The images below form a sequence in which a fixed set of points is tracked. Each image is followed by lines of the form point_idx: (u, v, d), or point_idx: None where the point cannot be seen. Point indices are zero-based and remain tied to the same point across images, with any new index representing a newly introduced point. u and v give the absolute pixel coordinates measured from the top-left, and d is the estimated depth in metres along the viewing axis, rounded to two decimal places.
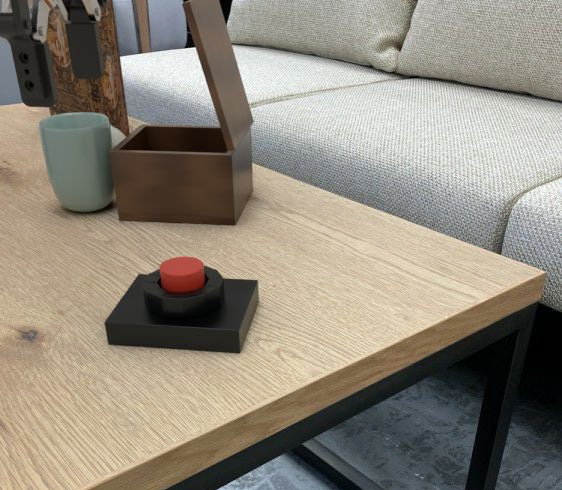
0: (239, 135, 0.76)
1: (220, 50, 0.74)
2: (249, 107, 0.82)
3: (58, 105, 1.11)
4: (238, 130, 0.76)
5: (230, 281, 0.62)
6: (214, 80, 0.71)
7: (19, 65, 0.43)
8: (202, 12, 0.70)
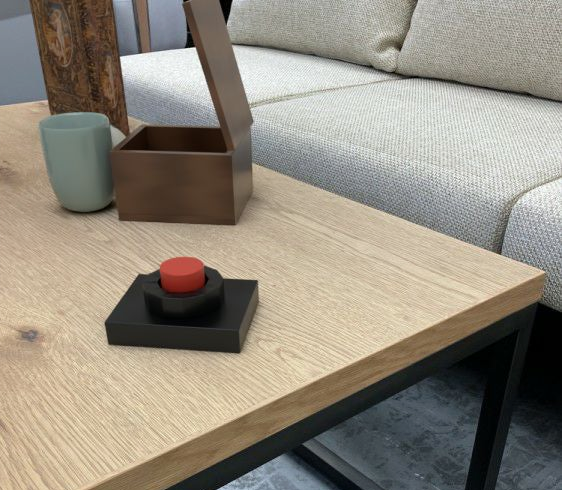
0: (239, 135, 0.76)
1: (220, 50, 0.74)
2: (249, 107, 0.82)
3: (58, 105, 1.11)
4: (238, 130, 0.76)
5: (230, 281, 0.62)
6: (214, 80, 0.71)
7: None
8: (202, 12, 0.70)
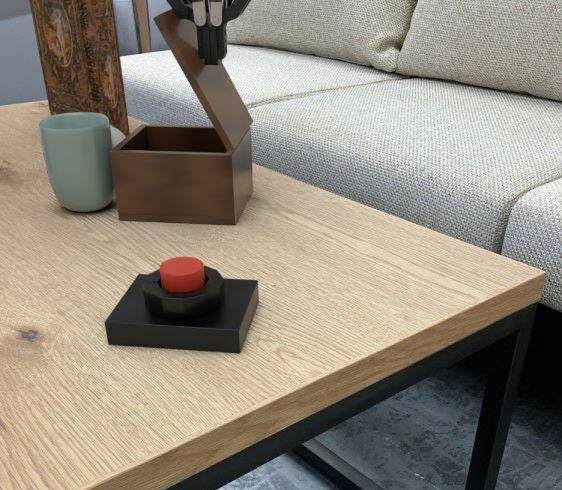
0: (237, 135, 0.76)
1: None
2: None
3: (58, 105, 1.11)
4: (236, 130, 0.76)
5: (230, 281, 0.62)
6: (200, 85, 0.71)
7: None
8: (176, 23, 0.71)
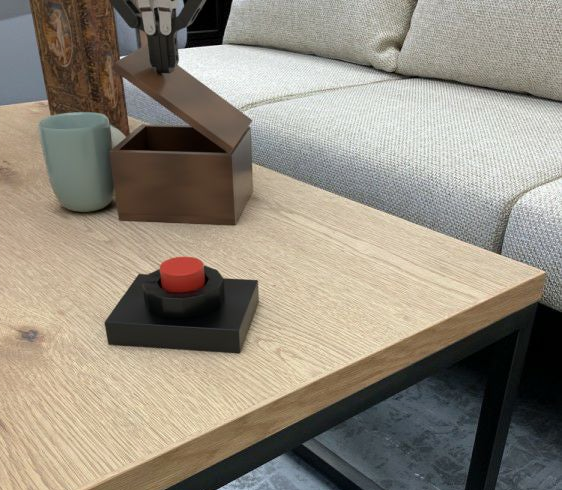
0: (234, 135, 0.76)
1: (175, 82, 0.77)
2: (240, 111, 0.83)
3: (58, 105, 1.11)
4: (231, 132, 0.76)
5: (230, 281, 0.62)
6: (177, 106, 0.72)
7: None
8: (136, 64, 0.74)
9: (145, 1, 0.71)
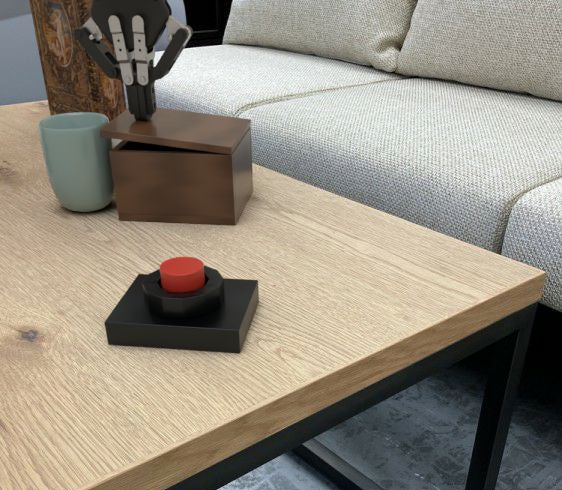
0: (232, 137, 0.76)
1: (164, 121, 0.79)
2: None
3: (58, 105, 1.11)
4: (228, 136, 0.77)
5: (230, 281, 0.62)
6: (167, 137, 0.74)
7: None
8: (122, 122, 0.77)
9: (123, 54, 0.74)
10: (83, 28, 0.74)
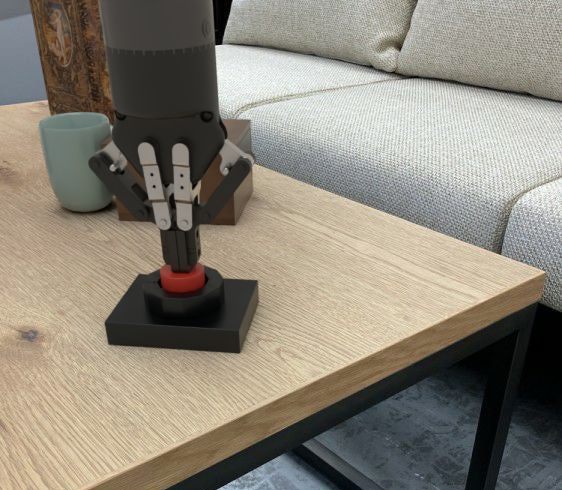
0: (232, 138, 0.77)
1: None
2: (235, 119, 0.83)
3: (58, 105, 1.11)
4: (227, 137, 0.77)
5: (230, 281, 0.62)
6: None
7: None
8: None
9: (157, 192, 0.52)
10: (101, 155, 0.52)
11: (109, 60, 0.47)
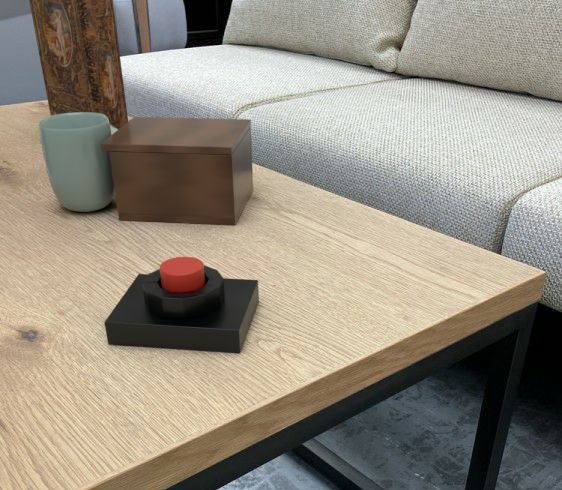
0: (232, 138, 0.77)
1: (164, 130, 0.80)
2: (235, 119, 0.83)
3: (58, 105, 1.11)
4: (227, 137, 0.77)
5: (230, 281, 0.62)
6: (167, 144, 0.75)
7: None
8: (123, 135, 0.78)
9: None
10: None
11: None
